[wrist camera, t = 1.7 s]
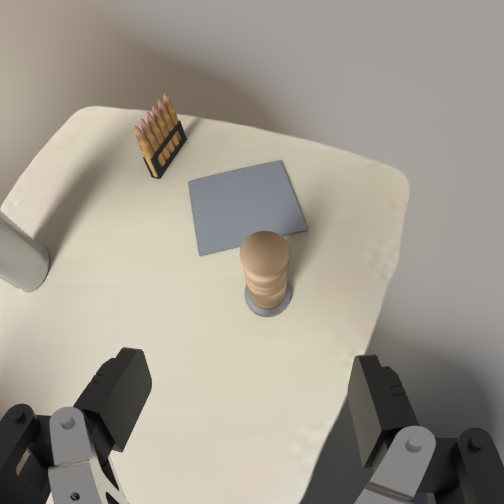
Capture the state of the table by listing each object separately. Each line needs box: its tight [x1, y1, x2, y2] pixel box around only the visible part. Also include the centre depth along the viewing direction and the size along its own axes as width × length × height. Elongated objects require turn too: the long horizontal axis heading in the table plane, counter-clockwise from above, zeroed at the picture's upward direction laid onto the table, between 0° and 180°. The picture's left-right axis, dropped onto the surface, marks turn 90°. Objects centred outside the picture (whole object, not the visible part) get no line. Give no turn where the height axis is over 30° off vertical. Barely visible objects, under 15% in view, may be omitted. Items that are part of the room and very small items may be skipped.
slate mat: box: [188, 160, 308, 256], centre depth 46 cm, size 16×14×1 cm
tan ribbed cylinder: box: [240, 231, 291, 317], centre depth 33 cm, size 6×6×13 cm
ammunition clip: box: [135, 94, 187, 179], centre depth 47 cm, size 11×2×12 cm, turn 160°
